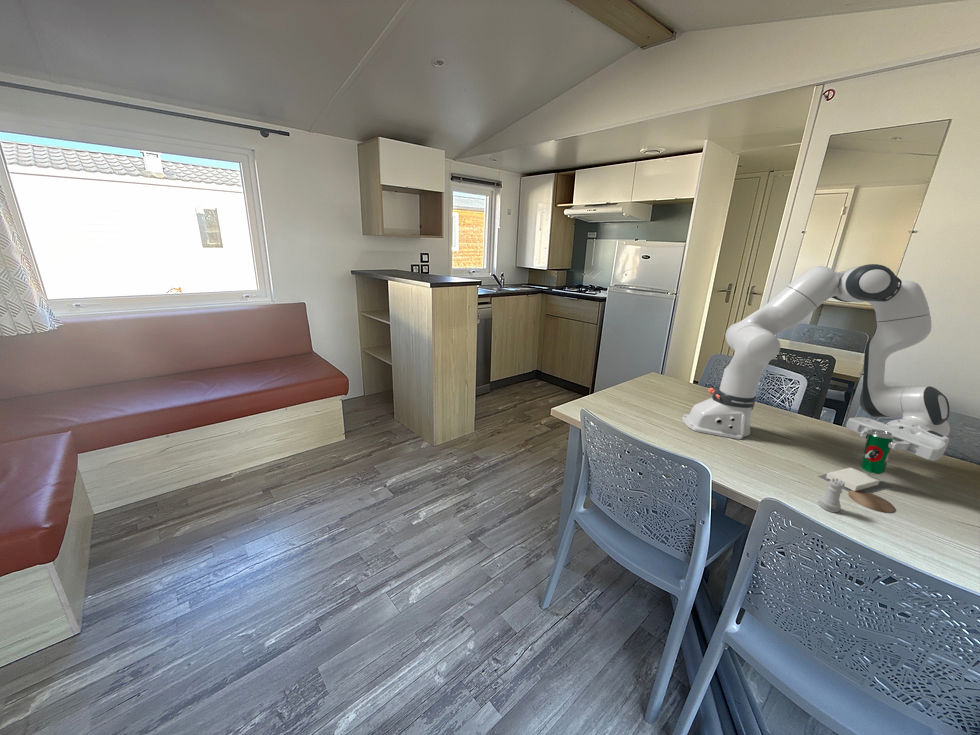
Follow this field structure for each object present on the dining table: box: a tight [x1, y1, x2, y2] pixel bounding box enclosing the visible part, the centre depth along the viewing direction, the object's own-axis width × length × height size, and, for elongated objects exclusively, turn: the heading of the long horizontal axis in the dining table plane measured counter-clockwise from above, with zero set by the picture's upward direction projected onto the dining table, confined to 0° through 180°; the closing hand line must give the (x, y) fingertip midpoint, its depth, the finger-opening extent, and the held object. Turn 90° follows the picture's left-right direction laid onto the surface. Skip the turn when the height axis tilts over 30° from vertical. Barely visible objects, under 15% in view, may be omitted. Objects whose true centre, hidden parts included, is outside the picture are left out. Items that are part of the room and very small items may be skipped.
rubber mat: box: [817, 473, 891, 494], centre depth 110 cm, size 15×10×1 cm, turn 110°
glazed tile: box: [826, 467, 881, 491], centre depth 110 cm, size 2×7×11 cm
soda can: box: [860, 429, 893, 475], centre depth 108 cm, size 5×5×12 cm
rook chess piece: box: [817, 478, 845, 513], centre depth 98 cm, size 4×4×8 cm
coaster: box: [847, 490, 896, 514], centre depth 101 cm, size 9×9×1 cm
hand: (876, 440), depth 108 cm, fingers closed on soda can, 5 cm apart
